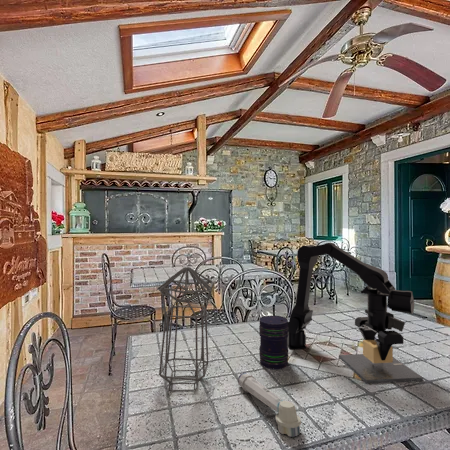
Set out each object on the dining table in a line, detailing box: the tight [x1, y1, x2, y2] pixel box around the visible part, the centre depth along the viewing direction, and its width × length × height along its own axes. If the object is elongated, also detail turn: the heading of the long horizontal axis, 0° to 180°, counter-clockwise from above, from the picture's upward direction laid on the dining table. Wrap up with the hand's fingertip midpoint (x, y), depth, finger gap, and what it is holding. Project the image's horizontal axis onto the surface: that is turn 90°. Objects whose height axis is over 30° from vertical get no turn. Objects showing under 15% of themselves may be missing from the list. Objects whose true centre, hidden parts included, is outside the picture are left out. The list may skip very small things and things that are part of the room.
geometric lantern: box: [156, 266, 214, 392], centre depth 93 cm, size 16×16×35 cm
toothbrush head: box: [237, 372, 302, 437], centre depth 80 cm, size 5×7×25 cm
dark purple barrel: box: [258, 315, 289, 371], centre depth 106 cm, size 10×10×15 cm
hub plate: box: [338, 353, 424, 384], centre depth 102 cm, size 18×18×6 cm
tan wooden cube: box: [362, 339, 394, 363], centre depth 102 cm, size 6×6×6 cm
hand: (377, 355), depth 102 cm, fingers closed on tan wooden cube, 6 cm apart
